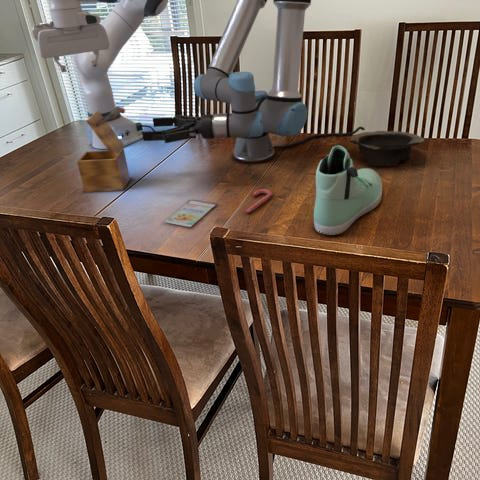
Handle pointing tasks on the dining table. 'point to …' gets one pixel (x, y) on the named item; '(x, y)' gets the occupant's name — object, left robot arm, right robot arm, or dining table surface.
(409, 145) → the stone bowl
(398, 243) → the dining table surface
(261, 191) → the candy cane
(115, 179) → the chest
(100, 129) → the lid
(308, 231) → the dining table surface
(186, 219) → the baking ingredient package
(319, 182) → the sneaker
